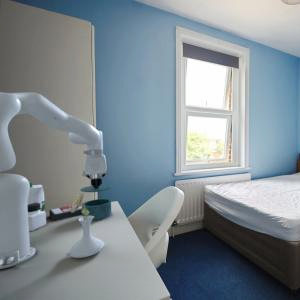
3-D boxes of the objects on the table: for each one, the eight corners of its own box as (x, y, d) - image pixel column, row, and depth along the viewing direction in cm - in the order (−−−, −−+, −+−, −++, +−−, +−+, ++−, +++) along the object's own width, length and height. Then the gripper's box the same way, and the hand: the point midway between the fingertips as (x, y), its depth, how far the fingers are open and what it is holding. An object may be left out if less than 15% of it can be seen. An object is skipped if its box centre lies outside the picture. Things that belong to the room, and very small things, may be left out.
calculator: (86, 207, 120) (53, 213, 109) (86, 214, 121) (53, 221, 109) (80, 203, 127) (49, 208, 116) (80, 210, 128) (49, 216, 116)
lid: (112, 190, 112) (112, 179, 112) (79, 194, 104) (79, 182, 104) (110, 185, 125) (110, 174, 124) (81, 188, 117) (80, 177, 116)
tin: (112, 218, 114) (111, 203, 113) (82, 224, 106) (81, 208, 106) (110, 211, 125) (110, 197, 125) (83, 215, 118) (82, 201, 117)
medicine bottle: (46, 224, 105) (45, 201, 105) (32, 231, 98) (31, 206, 98) (34, 224, 106) (32, 201, 105) (18, 230, 99) (17, 205, 98)
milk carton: (22, 219, 112) (19, 183, 110) (44, 215, 118) (42, 180, 117) (23, 224, 106) (20, 185, 104) (46, 219, 112) (44, 183, 111)
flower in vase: (74, 247, 84) (72, 187, 82) (106, 242, 88) (104, 185, 86) (62, 266, 72) (59, 196, 70) (100, 260, 76) (97, 193, 74)
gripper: (76, 154, 106) (78, 189, 107) (112, 152, 114) (113, 185, 116) (77, 153, 112) (79, 186, 113) (111, 151, 121) (112, 183, 122)
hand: (96, 185), depth 114 cm, fingers closed on lid, 2 cm apart
